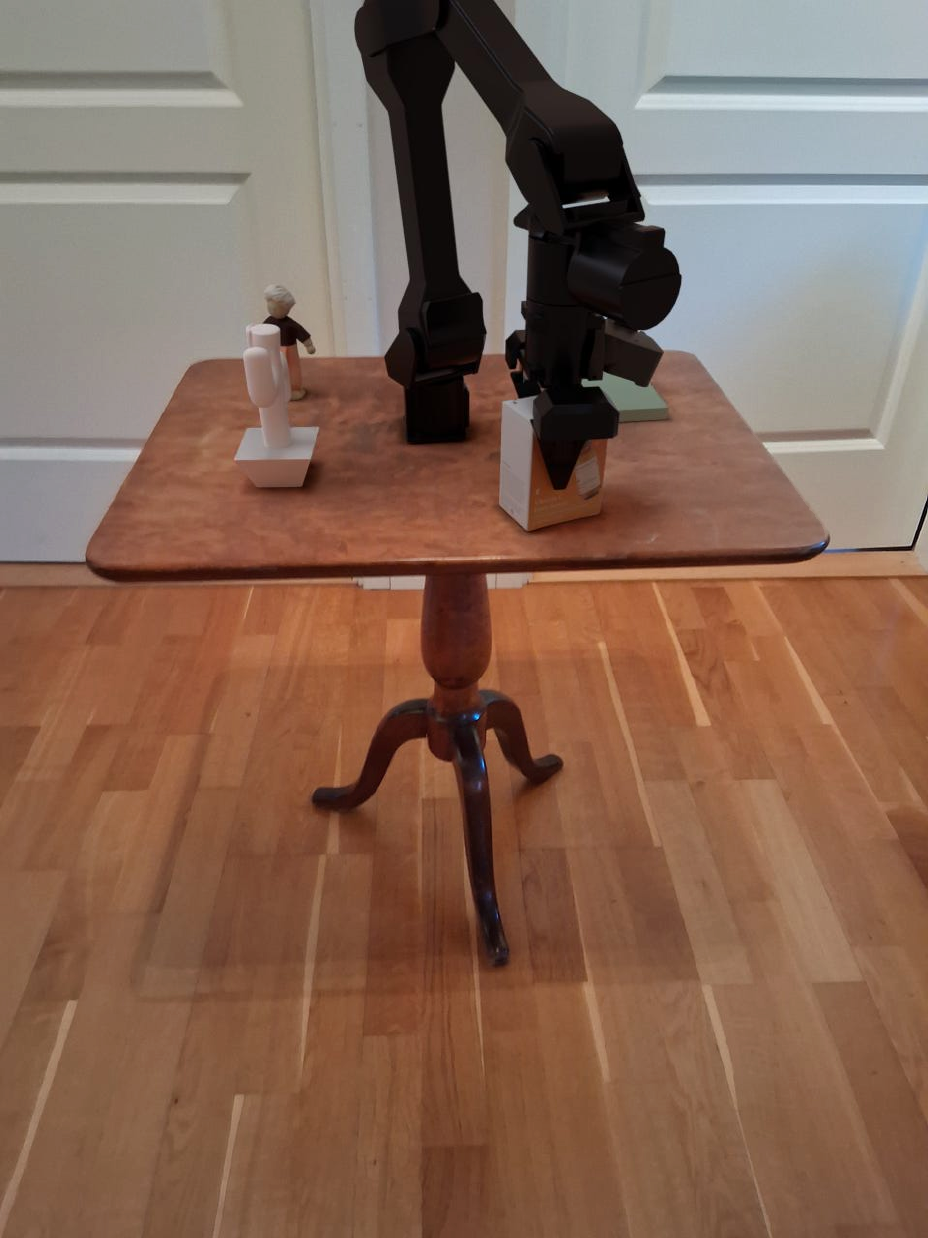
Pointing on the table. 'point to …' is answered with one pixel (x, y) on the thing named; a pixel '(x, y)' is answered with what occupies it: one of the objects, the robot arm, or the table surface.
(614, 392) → the scale
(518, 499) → the small box
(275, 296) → the grandmother figurine
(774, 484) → the table surface
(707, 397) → the table surface
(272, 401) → the figurine
